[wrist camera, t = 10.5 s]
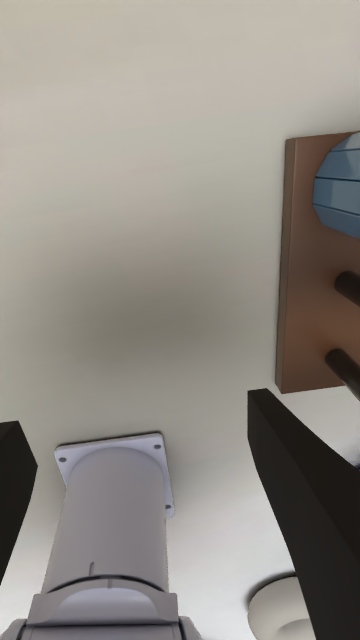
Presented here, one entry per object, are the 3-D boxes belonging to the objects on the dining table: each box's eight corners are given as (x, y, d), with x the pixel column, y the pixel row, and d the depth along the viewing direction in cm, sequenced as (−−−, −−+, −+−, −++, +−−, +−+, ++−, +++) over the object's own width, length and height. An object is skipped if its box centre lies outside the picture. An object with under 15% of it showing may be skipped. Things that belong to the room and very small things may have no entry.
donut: (343, 567, 35) (257, 569, 34) (362, 606, 32) (269, 610, 31) (312, 614, 40) (234, 619, 38) (326, 653, 36) (242, 659, 35)
